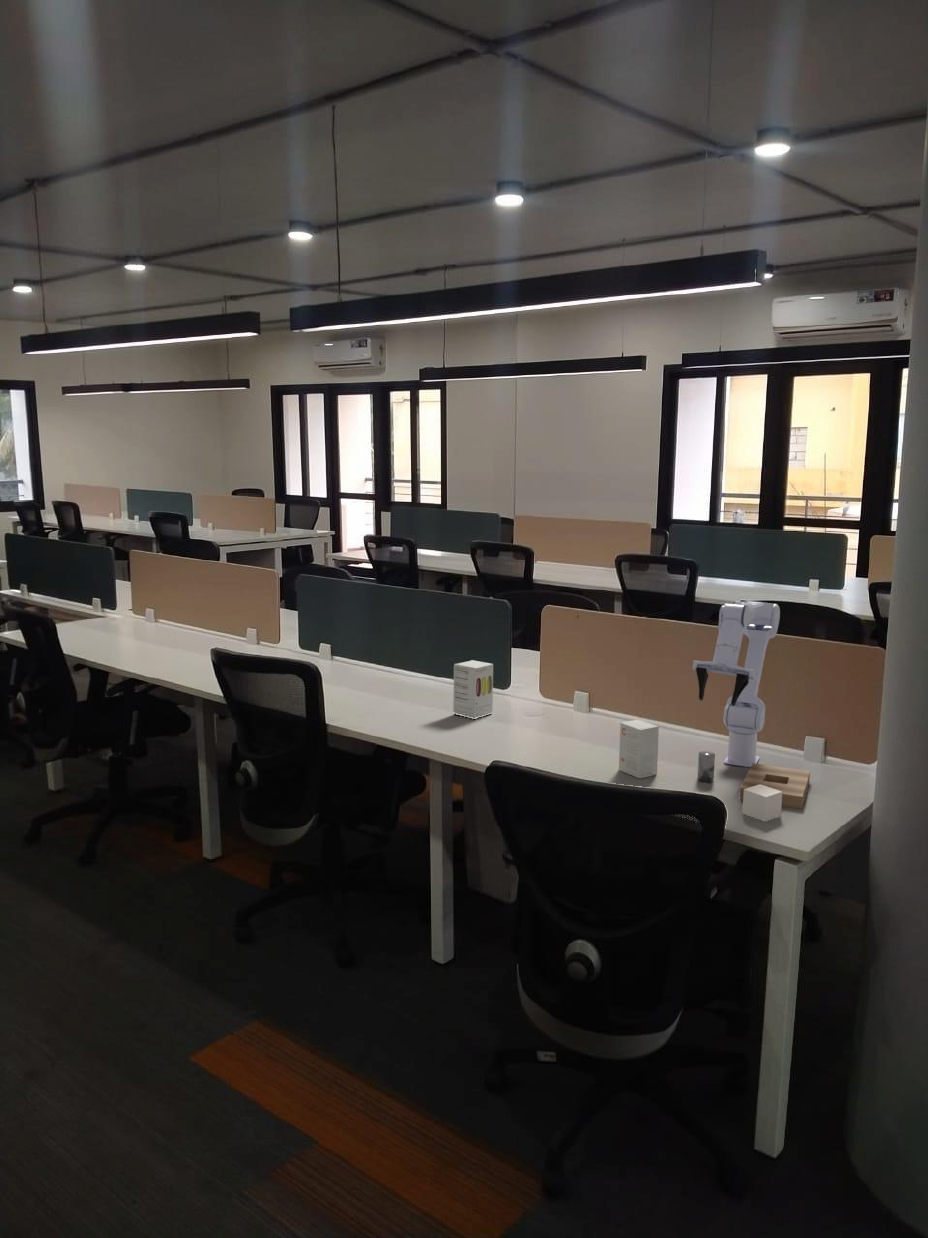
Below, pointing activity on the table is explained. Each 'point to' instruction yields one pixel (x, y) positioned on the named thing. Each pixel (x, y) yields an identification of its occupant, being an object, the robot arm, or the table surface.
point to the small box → (638, 748)
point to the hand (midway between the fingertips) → (716, 701)
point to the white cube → (762, 802)
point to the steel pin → (706, 767)
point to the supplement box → (473, 688)
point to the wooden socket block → (779, 782)
